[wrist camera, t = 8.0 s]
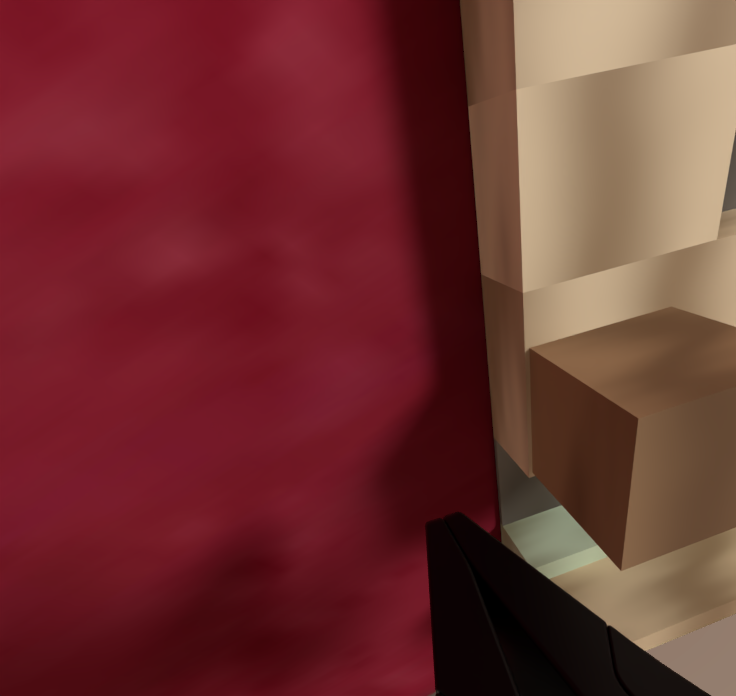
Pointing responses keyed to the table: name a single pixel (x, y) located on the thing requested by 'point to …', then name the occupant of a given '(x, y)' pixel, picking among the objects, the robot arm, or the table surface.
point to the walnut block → (639, 431)
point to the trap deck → (600, 243)
